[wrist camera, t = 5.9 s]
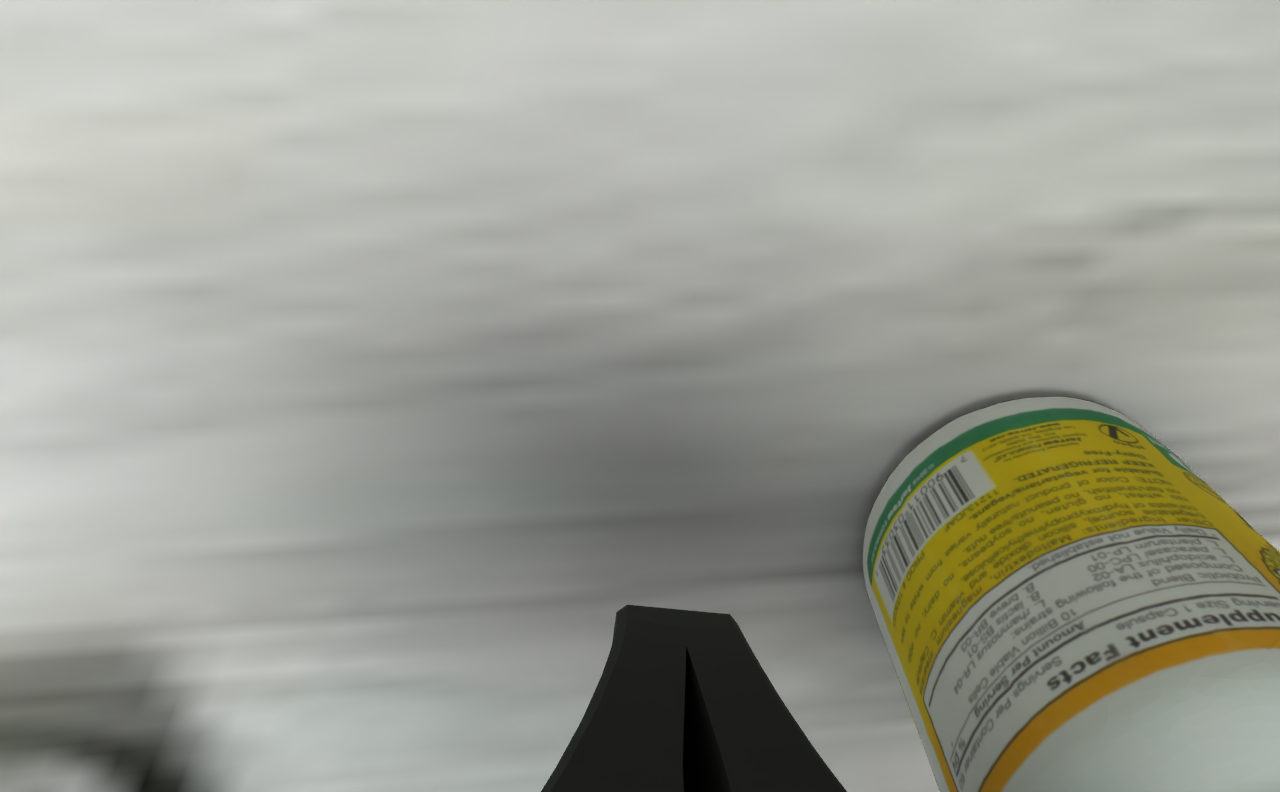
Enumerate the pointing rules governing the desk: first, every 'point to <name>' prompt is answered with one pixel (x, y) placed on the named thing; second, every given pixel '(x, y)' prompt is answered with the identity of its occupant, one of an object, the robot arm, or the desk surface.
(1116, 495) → the supplement bottle
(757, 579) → the desk surface
